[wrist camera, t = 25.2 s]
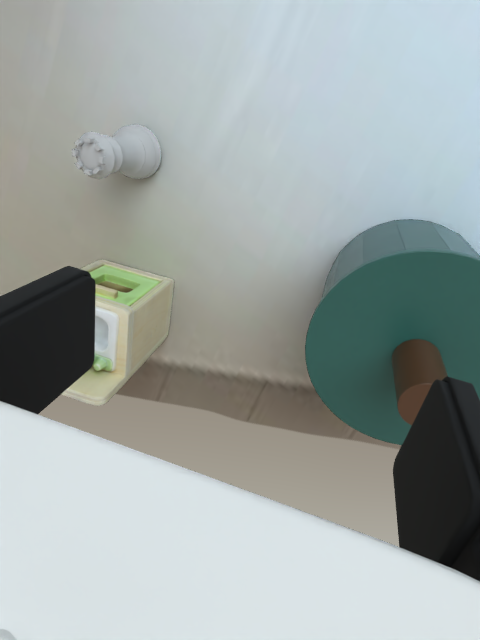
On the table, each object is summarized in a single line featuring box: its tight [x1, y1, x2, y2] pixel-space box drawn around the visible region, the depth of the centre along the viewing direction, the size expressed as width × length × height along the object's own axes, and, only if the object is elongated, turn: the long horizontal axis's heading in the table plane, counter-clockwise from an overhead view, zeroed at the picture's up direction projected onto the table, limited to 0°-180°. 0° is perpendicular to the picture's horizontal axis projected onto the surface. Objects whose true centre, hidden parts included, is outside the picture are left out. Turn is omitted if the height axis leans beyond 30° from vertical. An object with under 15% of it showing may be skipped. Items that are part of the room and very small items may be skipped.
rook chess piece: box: [72, 124, 161, 179], centre depth 33 cm, size 4×4×8 cm
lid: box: [305, 248, 480, 445], centre depth 23 cm, size 14×14×6 cm
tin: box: [321, 219, 480, 300], centre depth 30 cm, size 13×13×11 cm
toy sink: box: [61, 260, 174, 406], centre depth 37 cm, size 8×7×13 cm
